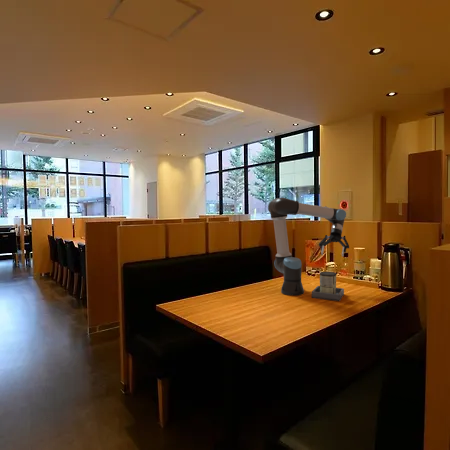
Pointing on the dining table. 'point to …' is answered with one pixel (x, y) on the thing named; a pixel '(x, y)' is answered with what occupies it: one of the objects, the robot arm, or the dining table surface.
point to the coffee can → (328, 282)
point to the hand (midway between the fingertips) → (332, 254)
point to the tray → (328, 294)
